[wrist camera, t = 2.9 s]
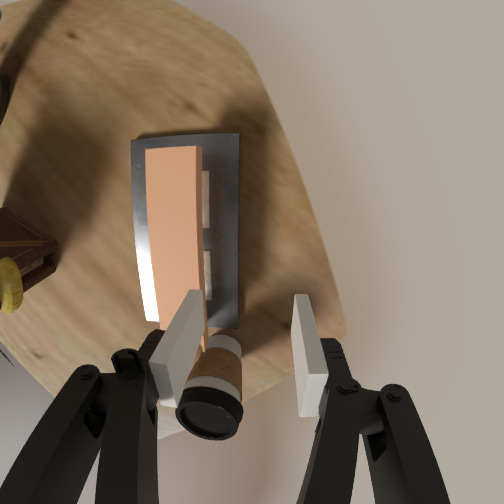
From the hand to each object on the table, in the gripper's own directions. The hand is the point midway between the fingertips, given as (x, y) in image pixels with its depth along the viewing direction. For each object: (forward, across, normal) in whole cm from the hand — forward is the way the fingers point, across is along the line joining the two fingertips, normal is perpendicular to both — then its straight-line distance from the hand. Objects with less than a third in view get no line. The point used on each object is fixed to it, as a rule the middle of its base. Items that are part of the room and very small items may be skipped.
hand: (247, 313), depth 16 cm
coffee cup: (+20, -5, -19) cm, 28 cm away
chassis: (+20, -10, -1) cm, 22 cm away
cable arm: (+13, -8, -2) cm, 15 cm away
